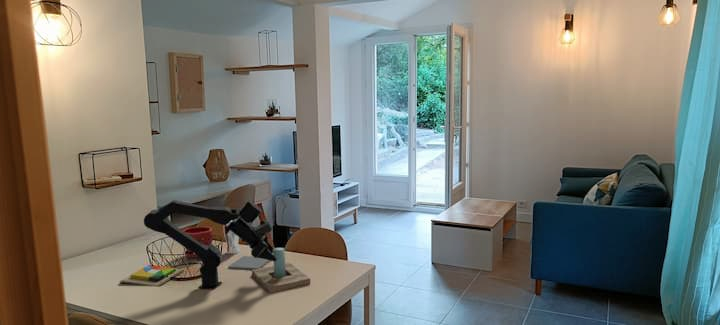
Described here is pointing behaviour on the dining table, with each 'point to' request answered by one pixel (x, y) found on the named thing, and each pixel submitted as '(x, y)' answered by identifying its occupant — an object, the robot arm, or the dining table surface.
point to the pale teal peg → (279, 263)
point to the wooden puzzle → (152, 275)
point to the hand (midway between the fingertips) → (275, 256)
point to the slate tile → (249, 263)
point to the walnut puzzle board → (273, 285)
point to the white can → (231, 241)
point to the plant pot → (199, 237)
